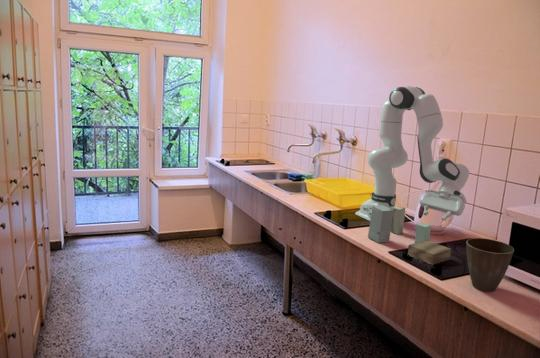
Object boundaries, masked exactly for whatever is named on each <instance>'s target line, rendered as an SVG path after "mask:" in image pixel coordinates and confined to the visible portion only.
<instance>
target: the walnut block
mask: <svg viewBox="0 0 540 358" xmlns="http://www.w3.org/2000/svg"><path fill="white" fill-rule="evenodd" d="M451 253H452V248H450V247H447V246H445V245H441V244H439V243H436V242H432V241H430V240H429V241H428V240H424V241H421V242H417V243H415V242H414V243H411V244H408V250H407V256H408V255H409V256H408V257H412V258H413V257H414V258H413V259H416V260H418V259H419V260H418V261H420V260H421V262H424V263H425V262H426V263H425V264H428V265H430V264H431V265H430V266H434V264H435V265H437V263H438V264H440V262H441V263H444V262H446V261H449V260H451Z"/></svg>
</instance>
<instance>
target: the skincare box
mask: <svg viewBox="0 0 540 358" xmlns="http://www.w3.org/2000/svg"><path fill="white" fill-rule="evenodd" d="M393 213H394V210H392V209H390V208H388V207H385V206H383V205H379V206H372V213H371V219H370V221H369V226H368V233H367V237H368V239H370V240H372V241H374V242H376V243H377V244H382V243H389V242H390V239H391V238H390V237H391V233H392V232H391V225H392V219H393Z"/></svg>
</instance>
